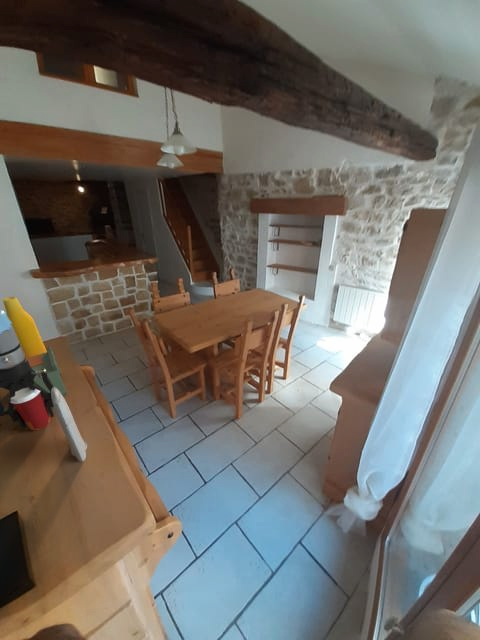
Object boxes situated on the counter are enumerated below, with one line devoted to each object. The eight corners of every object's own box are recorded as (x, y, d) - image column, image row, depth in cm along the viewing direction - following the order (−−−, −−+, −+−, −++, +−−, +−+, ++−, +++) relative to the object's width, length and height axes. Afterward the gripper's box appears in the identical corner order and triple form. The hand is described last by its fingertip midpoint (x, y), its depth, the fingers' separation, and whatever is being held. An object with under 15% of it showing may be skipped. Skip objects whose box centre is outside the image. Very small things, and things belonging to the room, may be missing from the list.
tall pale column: (91, 458, 72) (67, 401, 62) (75, 467, 70) (47, 409, 60) (83, 433, 79) (61, 379, 69) (68, 441, 77) (42, 385, 67)
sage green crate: (27, 408, 88) (12, 379, 82) (24, 384, 99) (11, 357, 93) (67, 393, 95) (55, 365, 89) (60, 372, 106) (50, 346, 100)
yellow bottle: (49, 357, 115) (25, 298, 102) (24, 365, 109) (-6, 305, 96) (45, 349, 121) (22, 292, 108) (21, 356, 115) (-7, 298, 102)
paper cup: (58, 412, 86) (44, 380, 79) (47, 431, 79) (30, 398, 73) (32, 415, 85) (16, 383, 78) (19, 434, 78) (0, 401, 71)
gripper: (-42, 384, 62) (-2, 445, 73) (53, 355, 74) (75, 412, 84) (-38, 369, 68) (-2, 428, 78) (50, 344, 79) (71, 399, 89)
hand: (38, 419), depth 81 cm, fingers closed on paper cup, 7 cm apart
